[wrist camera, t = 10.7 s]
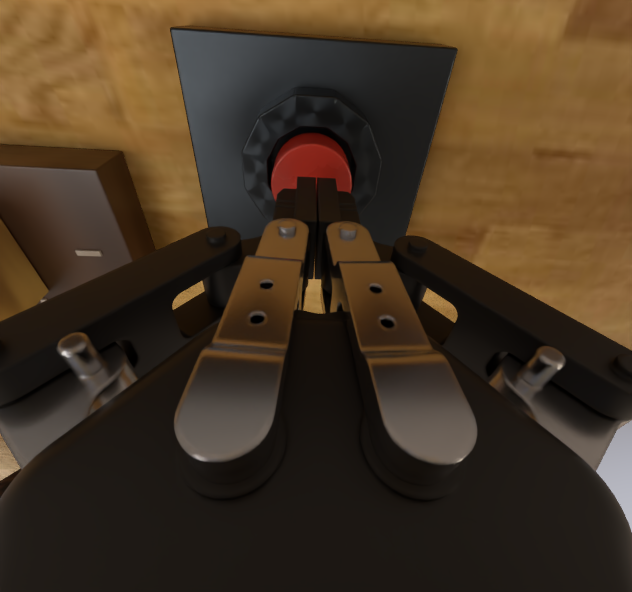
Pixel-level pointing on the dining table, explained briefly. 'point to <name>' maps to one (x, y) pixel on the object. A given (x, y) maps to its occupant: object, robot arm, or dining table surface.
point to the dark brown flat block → (71, 212)
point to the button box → (309, 117)
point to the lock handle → (17, 278)
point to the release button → (310, 162)
